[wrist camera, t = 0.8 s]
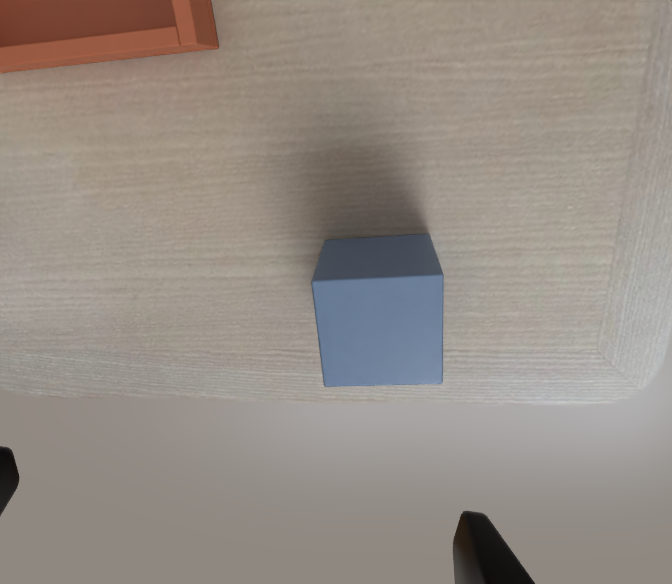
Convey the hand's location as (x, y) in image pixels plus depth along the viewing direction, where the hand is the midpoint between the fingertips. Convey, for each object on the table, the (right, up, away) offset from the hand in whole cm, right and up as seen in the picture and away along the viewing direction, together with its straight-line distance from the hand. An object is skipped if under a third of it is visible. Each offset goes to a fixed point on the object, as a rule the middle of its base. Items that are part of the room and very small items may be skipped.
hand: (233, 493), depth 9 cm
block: (+4, +4, +11) cm, 13 cm away
